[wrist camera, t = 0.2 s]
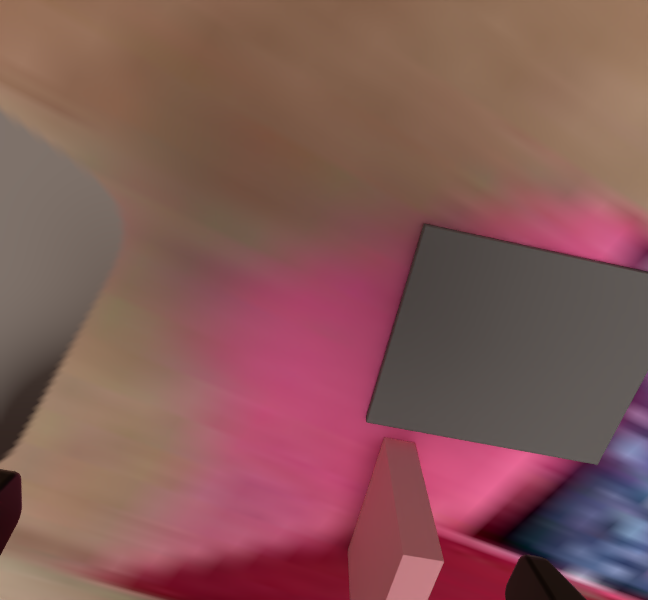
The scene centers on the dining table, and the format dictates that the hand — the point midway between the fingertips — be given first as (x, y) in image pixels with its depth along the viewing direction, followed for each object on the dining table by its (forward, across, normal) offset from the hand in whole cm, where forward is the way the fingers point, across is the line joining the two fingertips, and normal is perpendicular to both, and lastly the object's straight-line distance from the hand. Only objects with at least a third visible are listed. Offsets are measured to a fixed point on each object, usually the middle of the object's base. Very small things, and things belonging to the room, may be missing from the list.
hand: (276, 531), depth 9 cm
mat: (+14, -10, +2) cm, 18 cm away
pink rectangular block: (+14, -6, +12) cm, 20 cm away
